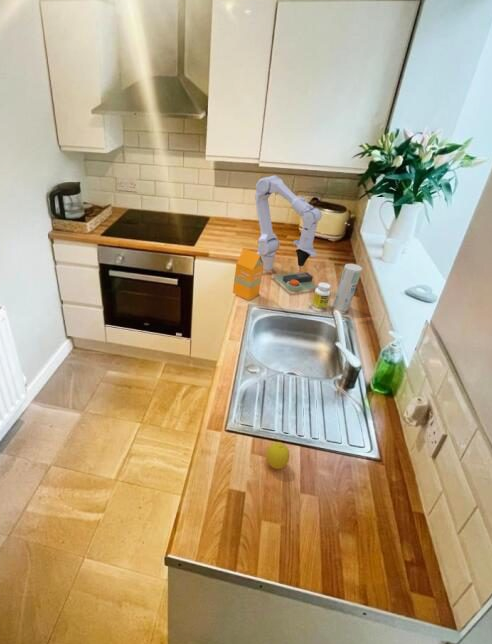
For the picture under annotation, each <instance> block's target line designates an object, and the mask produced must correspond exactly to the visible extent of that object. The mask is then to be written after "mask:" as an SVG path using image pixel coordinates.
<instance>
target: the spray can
mask: <svg viewBox="0 0 492 644" xmlns="http://www.w3.org/2000/svg"><path fill="white" fill-rule="evenodd" d="M362 271H363V267H362V266H361V265H358V264H355V263H346V264H345V265H344V267H343V271H342V274H341V277H340V280H339V284H338V286H337V291H336V294H335V297H334V300H333V303H332V307H333V308H334V309H335V310H336V311H340V312H348V311H349V309H350V306H351V304H352V301H353V298H354V295H355V292H356V289H357V286H358V283H359V280H360V277H361V275H362Z"/></svg>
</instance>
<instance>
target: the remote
mask: <svg viewBox="0 0 492 644" xmlns="http://www.w3.org/2000/svg"><path fill="white" fill-rule="evenodd" d="M293 279H294V280H298V281H299V283H303V282H313V279H314V276H312V275H311V274H310V273H309V272H302V273H299V274H293V275H286V276H283V281H284V282H285V283H287V282H288V281H291V280H293Z"/></svg>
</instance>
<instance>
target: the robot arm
mask: <svg viewBox="0 0 492 644" xmlns="http://www.w3.org/2000/svg"><path fill="white" fill-rule="evenodd" d="M255 189H256V191H255V195H254V200H255V205H256V210H257V211H256V212H257V218H258V225H259V229H260V230H259V231H260V237H258V242H257V243H258V245H257V250H258V251H257V252H256V253H257V254H259V255H260V256H261V258H262V261H263V264H264V267H263V272H270V271H272V270H273V268H274V262H275V256H276V253H277V251H278V250H279V249H280V246H281V245H280V241H279V240H278V236H277V234H276V233H274V230H273V224H272V217H271V210H270V203H269V198H270V197H271V195H272V194H278V195H280V196H281V197H283V199H285V200H286V201H287V202H288V203H290V205H291V209H292V210H294V212H295V213H296V214H298V215H299V216H300V217H301V220H302V228H301V233H300V237H299V240H298V239H296V240H293V246H296V247H297V249H295V253H296V257H297V266H298V267H304V265H305V264H306V261H307V260H308V259H309V257H311V258H317V254H318V253H317V252H316V251H315V249H314V245H313V244H314V240H315V236H316V232H317V228H318V223H319V222H320V220H321V219H322V218H323V217H322V216H323V213H322V211H321V210H320V208H318V207H314V206H313V205H311V204H310V203H309V202H308V201H306V200H307V199H306V198H305V197H301V196H296V195H295V193H294V192H293V191H292V190H291V189H290V188H289V187H288V186H287V185H286V184H285V183H284V181H283V179H281V178H280V177H279V176H278V175H274V174H273V175H271V176H270V175H269V176H266V177H261V178H260V179H259V180H258V181H257V183H255Z"/></svg>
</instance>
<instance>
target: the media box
mask: <svg viewBox="0 0 492 644" xmlns="http://www.w3.org/2000/svg"><path fill="white" fill-rule="evenodd" d="M293 274H300V272H293V273H284V274H279V275H278V274H276V275H273V276H272V277H273V278H274V279H275V280H277V281H278V282H279V283H280V284H282V285H283V286H284V288H286V290H288V291H290V292H291V293H295V292H301V291H307V290H312V289H313V290H315V289H316V288H318V286H316V285H315V284H314V283H312V281H310V282H303V283H299V284H298V286H292V285H290V281H288V282H287V283H285V282H284V281H283V276H286V275H293Z"/></svg>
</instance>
